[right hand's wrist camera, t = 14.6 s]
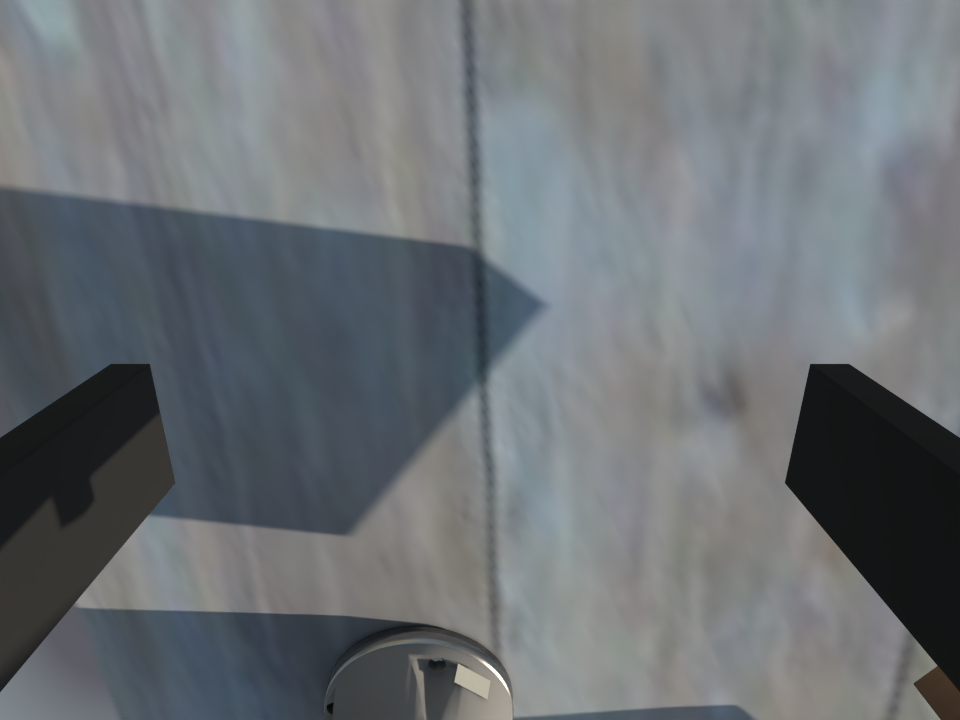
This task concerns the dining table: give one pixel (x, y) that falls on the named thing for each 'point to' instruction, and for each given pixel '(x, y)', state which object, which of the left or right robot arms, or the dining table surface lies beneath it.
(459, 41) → the dining table surface
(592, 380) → the dining table surface
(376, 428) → the dining table surface
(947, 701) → the box
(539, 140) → the dining table surface
